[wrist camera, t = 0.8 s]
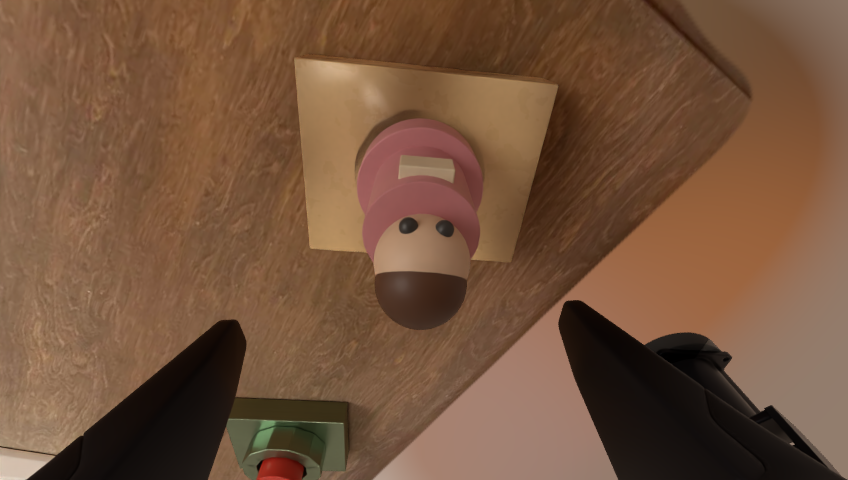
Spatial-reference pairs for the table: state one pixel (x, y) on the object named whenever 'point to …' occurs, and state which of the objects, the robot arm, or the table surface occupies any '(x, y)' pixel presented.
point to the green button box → (290, 434)
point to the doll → (420, 219)
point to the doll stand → (409, 99)
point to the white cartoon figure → (20, 463)
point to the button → (280, 469)
